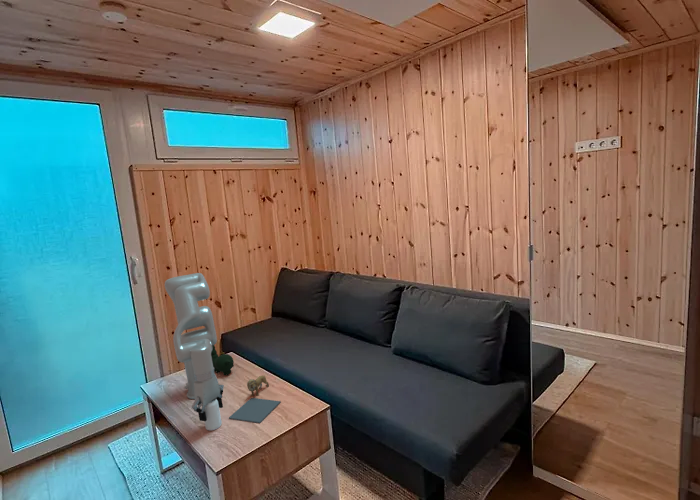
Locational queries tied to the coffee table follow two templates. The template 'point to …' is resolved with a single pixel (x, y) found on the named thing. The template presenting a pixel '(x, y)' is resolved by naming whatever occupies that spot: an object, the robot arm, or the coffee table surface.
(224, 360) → the toy figurine
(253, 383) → the lion figurine
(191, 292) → the robot arm
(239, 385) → the coffee table surface
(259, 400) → the mat
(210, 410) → the can
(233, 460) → the coffee table surface
